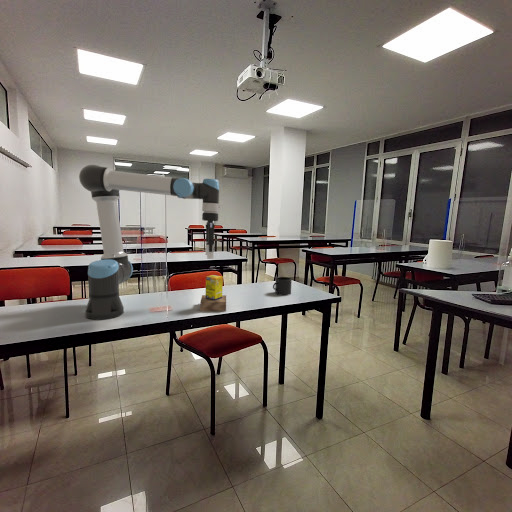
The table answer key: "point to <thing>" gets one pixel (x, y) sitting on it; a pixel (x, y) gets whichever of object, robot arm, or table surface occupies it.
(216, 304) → the walnut block
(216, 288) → the supplement box
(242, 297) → the table surface
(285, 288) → the mug
